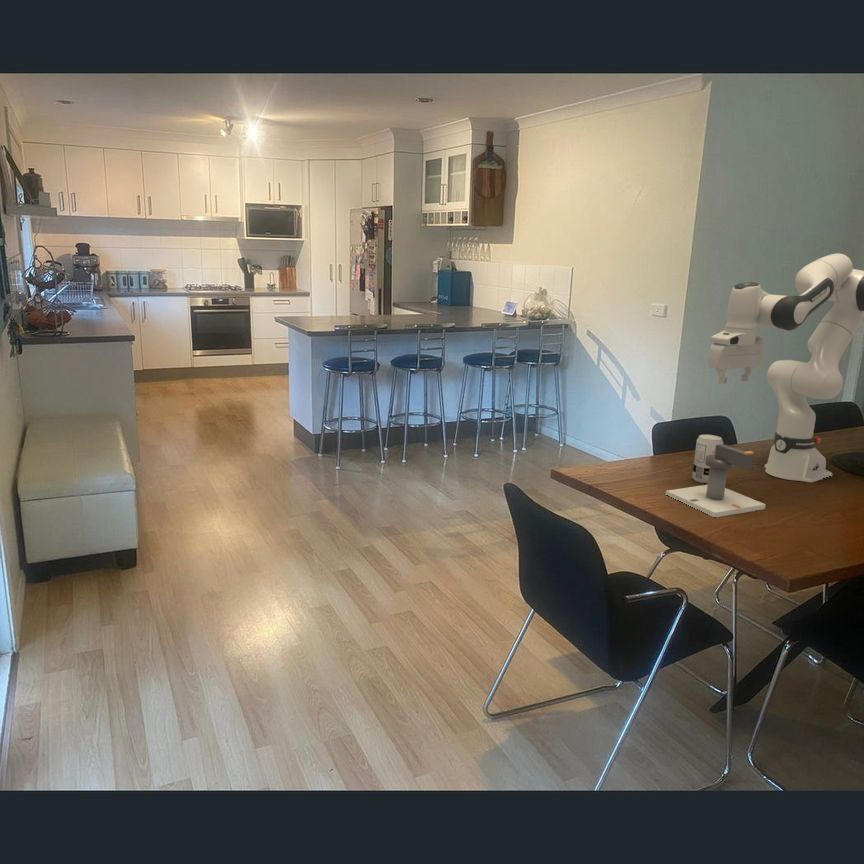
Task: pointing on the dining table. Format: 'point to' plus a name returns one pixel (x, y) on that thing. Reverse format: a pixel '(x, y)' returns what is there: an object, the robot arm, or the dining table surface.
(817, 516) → the dining table surface
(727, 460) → the twist knob
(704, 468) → the supplement can
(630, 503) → the dining table surface
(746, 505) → the base
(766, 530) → the dining table surface
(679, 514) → the dining table surface
